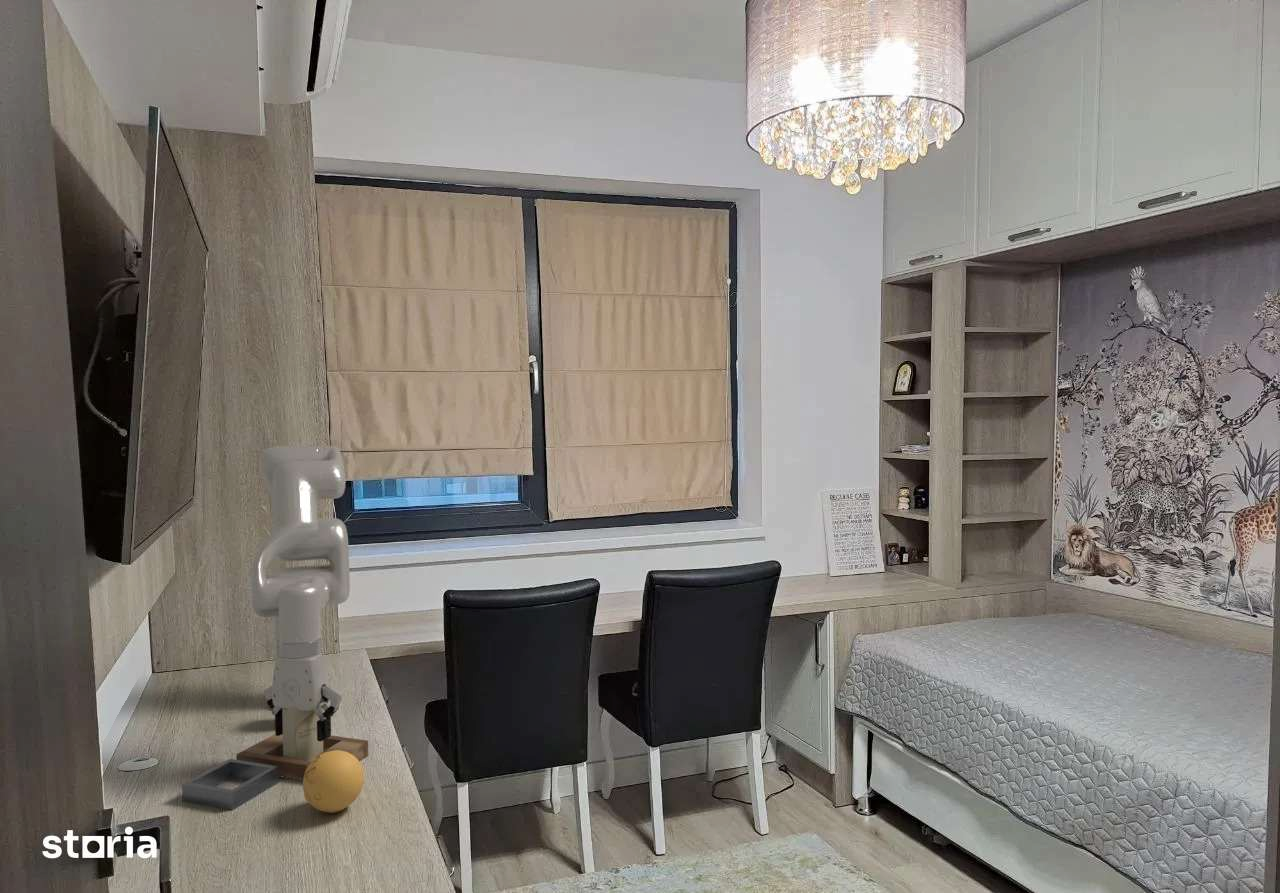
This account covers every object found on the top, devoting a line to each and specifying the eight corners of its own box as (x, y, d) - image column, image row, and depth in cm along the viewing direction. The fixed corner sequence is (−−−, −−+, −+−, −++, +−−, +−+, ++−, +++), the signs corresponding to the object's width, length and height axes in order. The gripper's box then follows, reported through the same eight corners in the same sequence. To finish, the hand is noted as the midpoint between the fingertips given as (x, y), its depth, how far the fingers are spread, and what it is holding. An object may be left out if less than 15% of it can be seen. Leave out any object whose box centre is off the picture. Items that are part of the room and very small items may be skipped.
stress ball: (371, 807, 147) (353, 757, 152) (371, 782, 140) (354, 730, 146) (311, 831, 142) (296, 779, 147) (309, 806, 135) (293, 752, 141)
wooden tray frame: (285, 743, 172) (285, 728, 172) (368, 755, 166) (368, 740, 166) (236, 769, 160) (236, 754, 160) (324, 784, 154) (324, 767, 154)
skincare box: (296, 771, 159) (294, 708, 159) (282, 765, 162) (280, 703, 161) (325, 759, 165) (323, 698, 164) (310, 754, 167) (309, 694, 166)
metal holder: (230, 774, 158) (230, 758, 158) (278, 782, 155) (278, 766, 154) (182, 800, 148) (181, 784, 147) (232, 810, 144) (232, 793, 144)
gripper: (249, 650, 161) (252, 738, 162) (325, 657, 156) (327, 748, 156) (278, 640, 168) (280, 724, 169) (351, 646, 163) (353, 733, 163)
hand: (303, 736), depth 163 cm, fingers open, 9 cm apart
